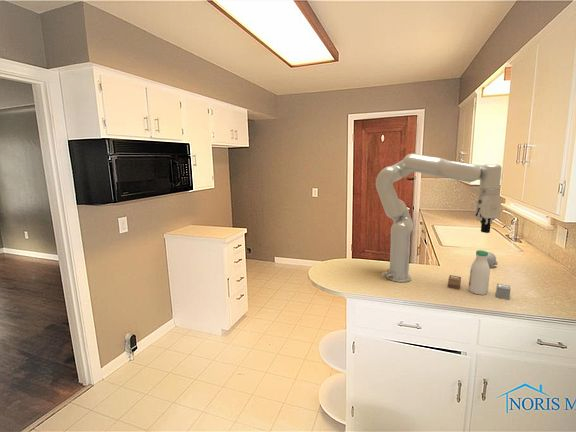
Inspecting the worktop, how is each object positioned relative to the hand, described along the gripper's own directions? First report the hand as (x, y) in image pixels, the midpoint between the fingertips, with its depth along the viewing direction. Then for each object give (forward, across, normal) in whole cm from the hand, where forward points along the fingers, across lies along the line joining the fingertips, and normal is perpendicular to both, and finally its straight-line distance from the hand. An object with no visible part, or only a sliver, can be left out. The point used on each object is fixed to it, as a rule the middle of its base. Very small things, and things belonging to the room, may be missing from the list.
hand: (485, 232), depth 137 cm
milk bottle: (+29, 0, +1) cm, 29 cm away
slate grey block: (+29, +6, -7) cm, 31 cm away
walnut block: (+29, -6, +9) cm, 31 cm away
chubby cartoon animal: (+30, +33, +24) cm, 50 cm away
